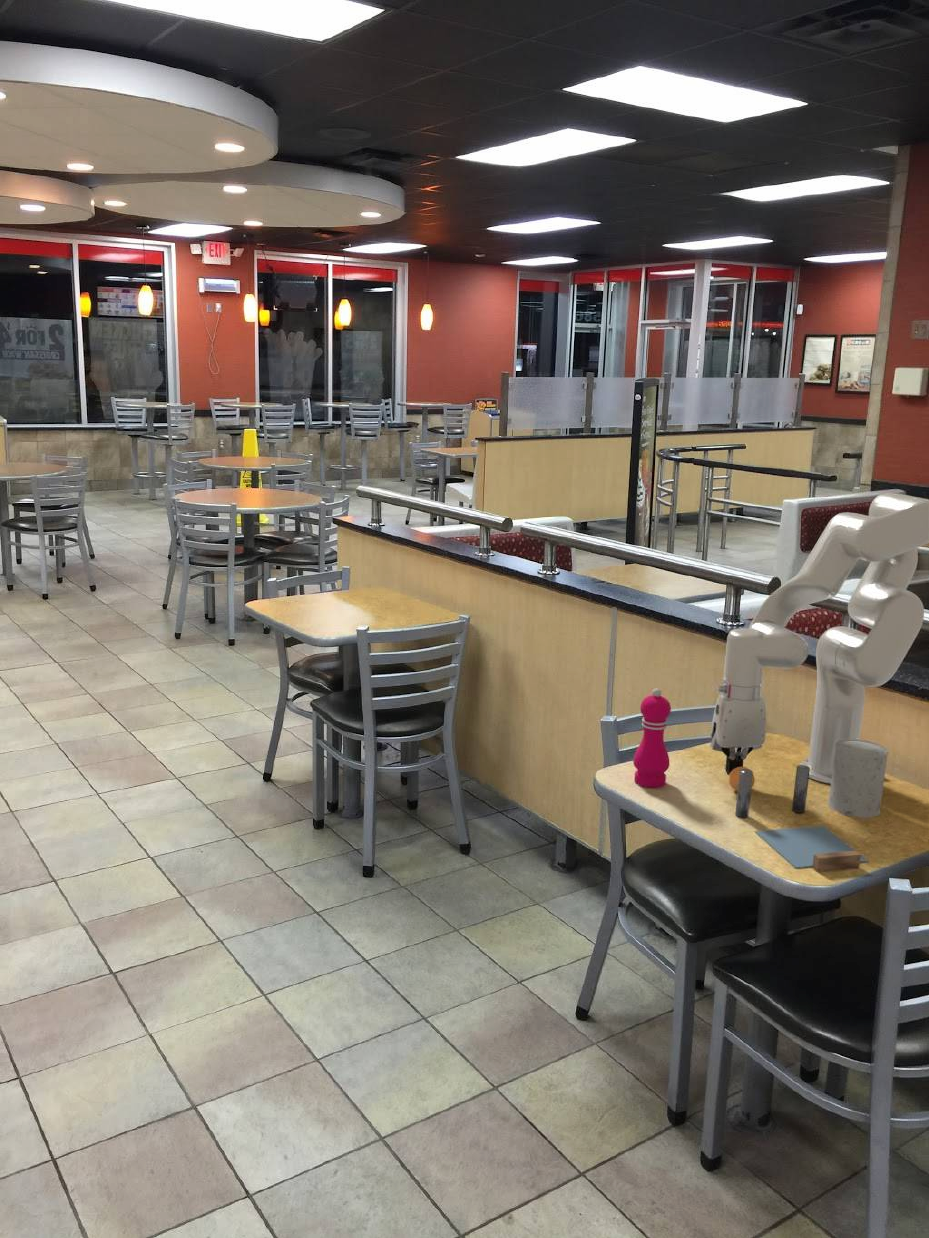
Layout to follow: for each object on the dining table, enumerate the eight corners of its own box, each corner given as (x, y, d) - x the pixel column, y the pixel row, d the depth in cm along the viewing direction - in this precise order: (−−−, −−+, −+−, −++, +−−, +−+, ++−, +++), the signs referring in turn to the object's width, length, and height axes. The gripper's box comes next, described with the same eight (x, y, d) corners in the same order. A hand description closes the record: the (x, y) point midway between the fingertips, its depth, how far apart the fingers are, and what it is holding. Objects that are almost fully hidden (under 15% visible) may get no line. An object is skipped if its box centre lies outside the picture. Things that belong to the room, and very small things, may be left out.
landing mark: (823, 826, 189) (823, 825, 189) (868, 861, 175) (868, 860, 175) (754, 832, 186) (755, 831, 186) (795, 868, 172) (795, 867, 172)
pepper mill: (670, 789, 203) (678, 694, 199) (634, 788, 204) (641, 693, 199) (664, 775, 210) (672, 683, 206) (629, 774, 211) (636, 682, 206)
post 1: (744, 812, 194) (748, 768, 192) (750, 817, 192) (755, 773, 189) (732, 813, 193) (737, 769, 191) (739, 818, 191) (743, 774, 189)
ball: (750, 760, 204) (759, 775, 200) (748, 780, 207) (757, 795, 202) (726, 763, 204) (734, 778, 200) (724, 782, 206) (732, 798, 202)
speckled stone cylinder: (853, 820, 192) (861, 759, 189) (817, 801, 200) (824, 742, 197) (891, 813, 195) (899, 753, 192) (854, 794, 204) (862, 736, 201)
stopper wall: (853, 863, 175) (855, 850, 174) (859, 867, 173) (860, 854, 173) (812, 867, 173) (813, 854, 172) (817, 871, 171) (818, 858, 171)
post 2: (800, 808, 196) (805, 764, 194) (807, 813, 194) (812, 769, 192) (789, 809, 196) (794, 765, 194) (795, 814, 194) (801, 770, 192)
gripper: (714, 697, 198) (706, 784, 203) (785, 695, 201) (775, 781, 205) (699, 685, 205) (691, 770, 210) (767, 683, 208) (758, 767, 213)
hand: (733, 775), depth 208 cm, fingers closed
